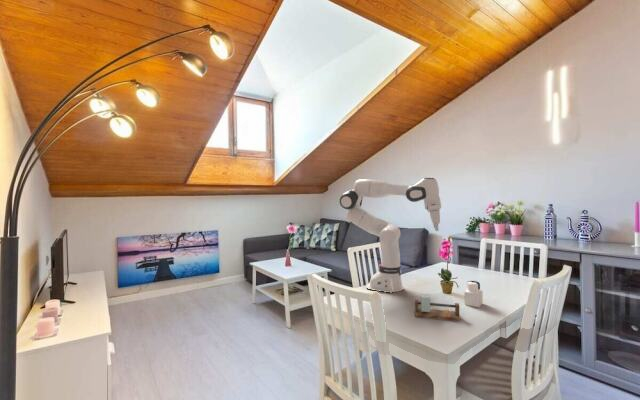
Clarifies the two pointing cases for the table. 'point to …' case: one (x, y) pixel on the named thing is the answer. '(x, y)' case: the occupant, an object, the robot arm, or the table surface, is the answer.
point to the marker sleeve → (425, 302)
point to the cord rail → (438, 312)
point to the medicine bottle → (473, 294)
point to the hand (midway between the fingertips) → (436, 229)
